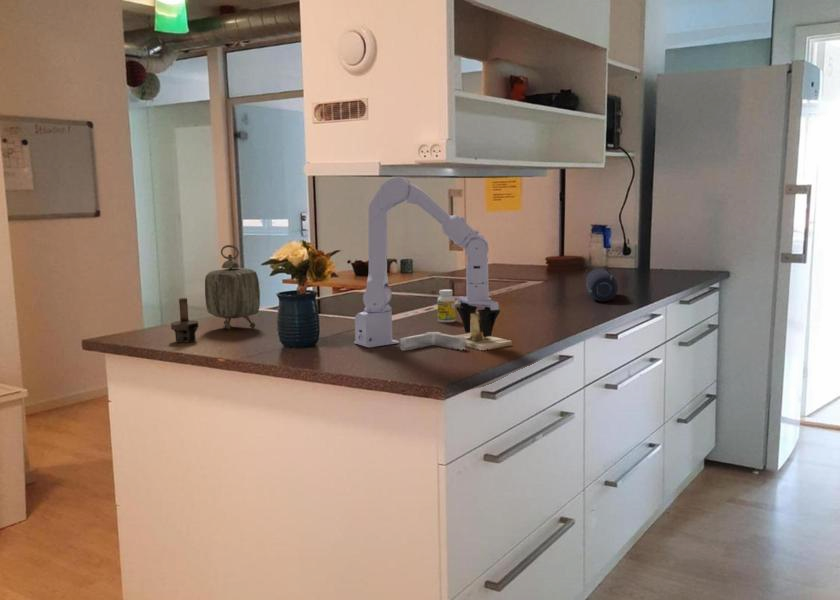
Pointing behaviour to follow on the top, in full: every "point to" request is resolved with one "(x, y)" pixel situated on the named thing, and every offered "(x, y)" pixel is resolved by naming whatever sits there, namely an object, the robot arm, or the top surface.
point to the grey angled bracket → (432, 341)
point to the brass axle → (476, 328)
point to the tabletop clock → (232, 291)
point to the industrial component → (184, 324)
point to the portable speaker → (601, 285)
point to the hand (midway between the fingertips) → (477, 334)
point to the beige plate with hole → (486, 342)
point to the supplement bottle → (446, 306)
